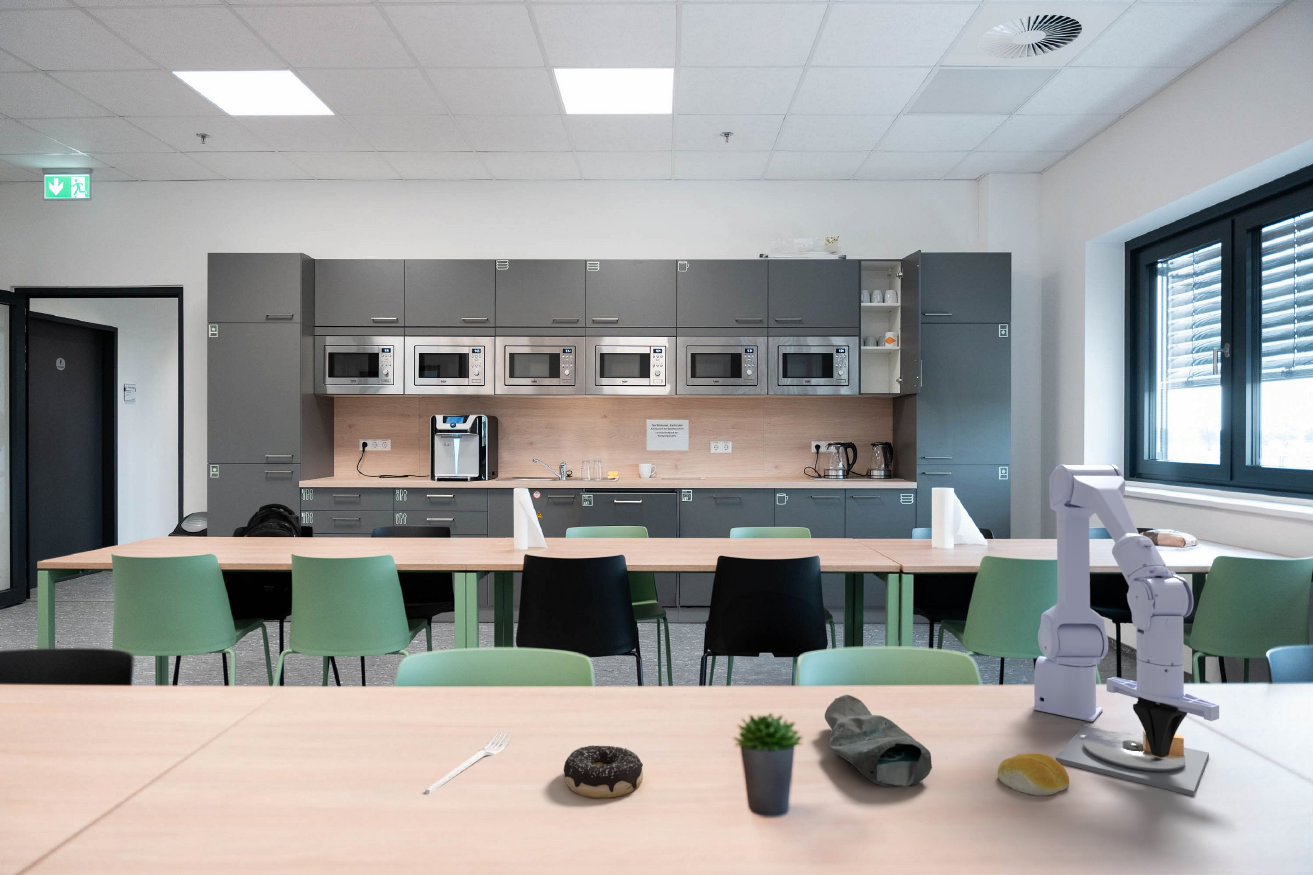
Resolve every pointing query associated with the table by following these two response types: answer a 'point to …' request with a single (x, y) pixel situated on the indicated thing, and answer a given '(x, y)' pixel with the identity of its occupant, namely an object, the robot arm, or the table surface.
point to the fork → (472, 760)
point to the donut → (603, 771)
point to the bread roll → (1033, 774)
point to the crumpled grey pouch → (875, 744)
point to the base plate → (1173, 780)
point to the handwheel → (1134, 751)
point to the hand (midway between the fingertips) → (1160, 754)
